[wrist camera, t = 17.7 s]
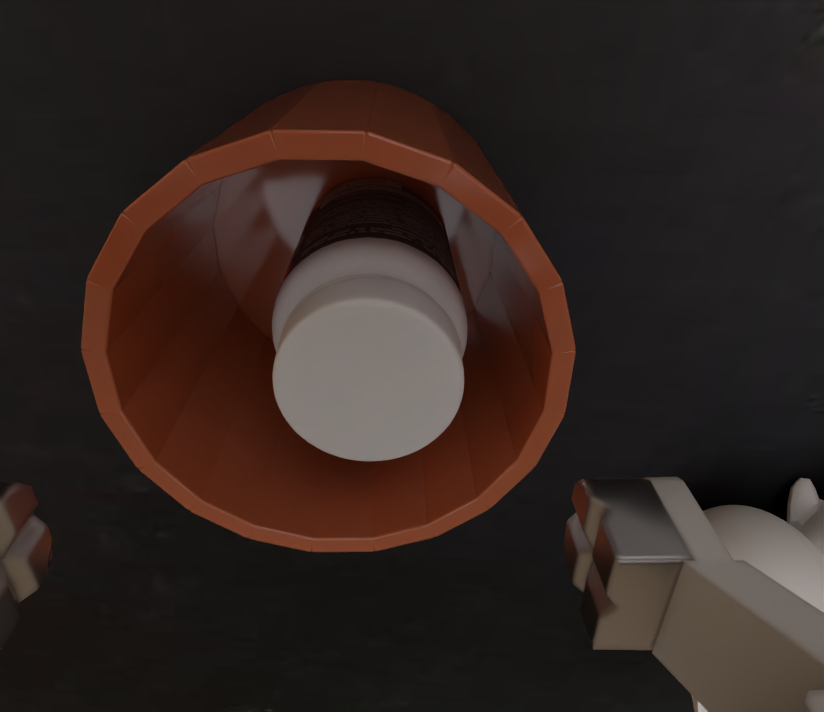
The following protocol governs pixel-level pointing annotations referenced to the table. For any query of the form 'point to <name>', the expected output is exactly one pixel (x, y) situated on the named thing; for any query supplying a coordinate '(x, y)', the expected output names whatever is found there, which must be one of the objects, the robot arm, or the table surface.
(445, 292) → the pill bottle
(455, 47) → the table surface
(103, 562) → the table surface
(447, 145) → the cup
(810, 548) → the cat figurine
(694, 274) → the table surface
